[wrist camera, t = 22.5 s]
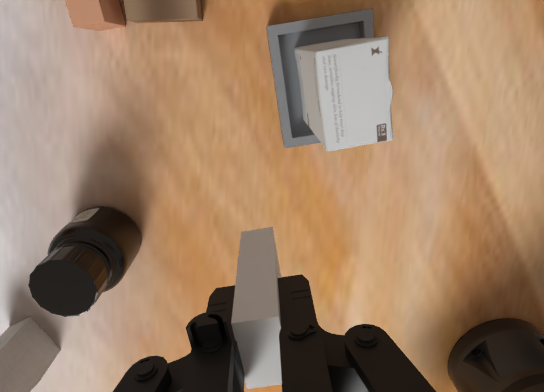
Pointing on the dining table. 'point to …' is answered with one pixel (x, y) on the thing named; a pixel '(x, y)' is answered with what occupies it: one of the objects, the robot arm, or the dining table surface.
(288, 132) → the tray
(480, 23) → the dining table surface
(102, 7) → the block
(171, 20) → the walnut block
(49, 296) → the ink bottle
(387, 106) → the skincare box
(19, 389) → the tea bag
